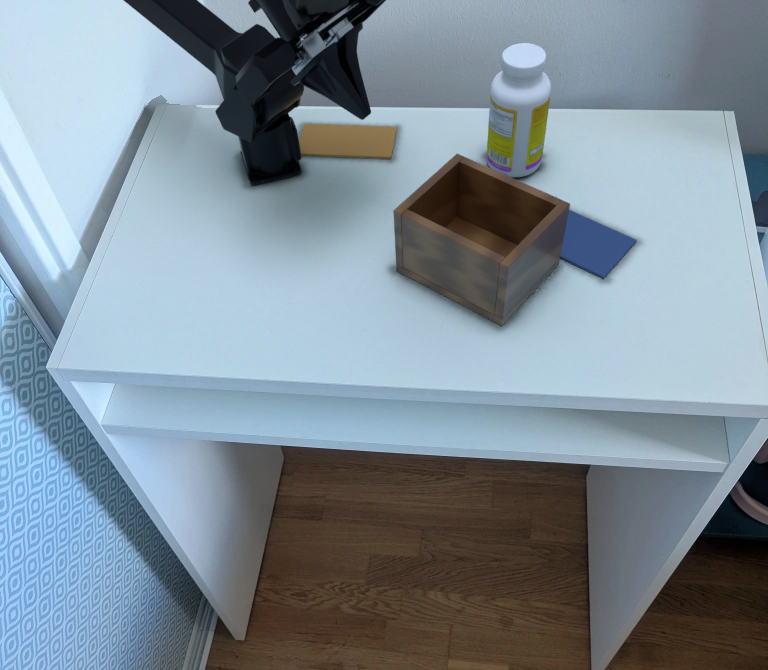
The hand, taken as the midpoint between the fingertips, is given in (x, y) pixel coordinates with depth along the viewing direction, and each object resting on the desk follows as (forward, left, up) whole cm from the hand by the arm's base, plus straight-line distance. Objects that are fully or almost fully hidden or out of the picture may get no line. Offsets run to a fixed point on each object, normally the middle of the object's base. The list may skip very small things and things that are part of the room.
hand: (366, 116), depth 78 cm
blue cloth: (+20, -11, -12) cm, 26 cm away
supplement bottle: (+19, +3, -12) cm, 23 cm away
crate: (+8, -12, -12) cm, 19 cm away
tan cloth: (+1, +14, -12) cm, 19 cm away
